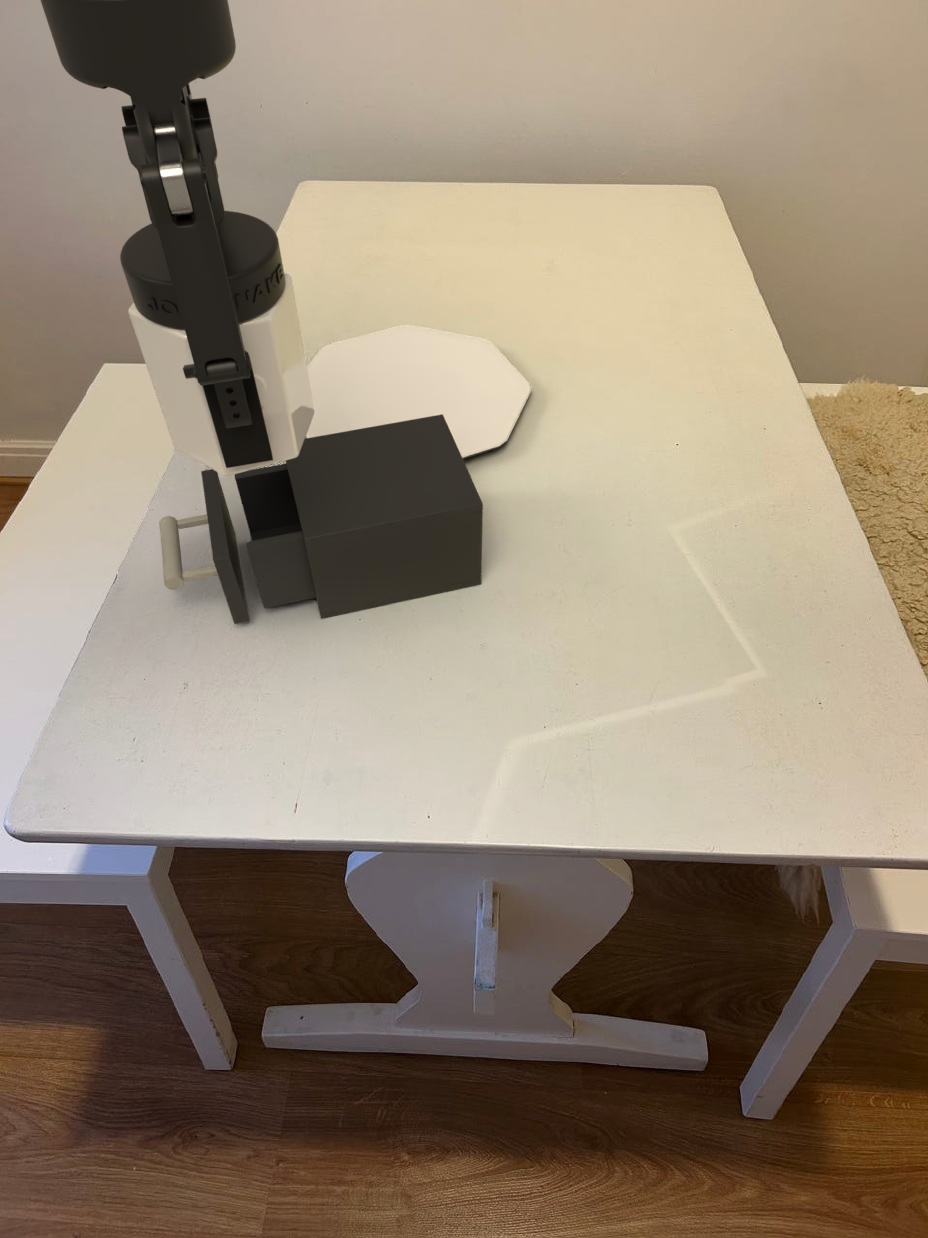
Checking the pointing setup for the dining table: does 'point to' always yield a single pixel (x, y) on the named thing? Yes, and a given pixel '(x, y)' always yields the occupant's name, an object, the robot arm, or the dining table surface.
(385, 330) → the plate
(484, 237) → the dining table surface
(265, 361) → the jar
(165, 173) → the robot arm
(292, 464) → the dark grey box
